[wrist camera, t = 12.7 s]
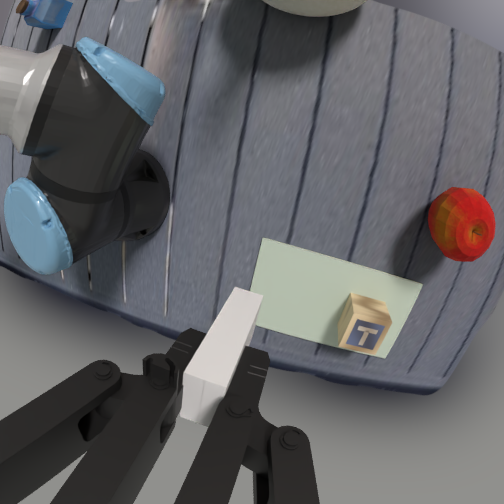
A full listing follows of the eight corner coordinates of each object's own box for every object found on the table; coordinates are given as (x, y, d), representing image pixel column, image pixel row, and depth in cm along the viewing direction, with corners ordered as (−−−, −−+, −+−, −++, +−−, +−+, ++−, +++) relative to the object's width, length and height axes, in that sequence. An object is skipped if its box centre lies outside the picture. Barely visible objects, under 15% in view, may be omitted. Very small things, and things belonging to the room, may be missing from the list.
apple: (430, 170, 35) (468, 181, 24) (475, 196, 34) (519, 215, 23) (407, 229, 39) (435, 259, 28) (453, 251, 38) (488, 284, 27)
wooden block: (375, 355, 39) (370, 332, 45) (392, 322, 37) (385, 302, 43) (338, 346, 40) (337, 324, 46) (354, 312, 38) (350, 292, 43)
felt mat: (243, 319, 50) (242, 321, 49) (263, 237, 44) (262, 238, 44) (384, 357, 46) (385, 358, 46) (422, 283, 41) (422, 284, 40)
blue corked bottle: (57, 5, 35) (19, -5, 24) (72, 3, 35) (34, -10, 24) (47, 29, 38) (8, 21, 27) (62, 27, 37) (21, 18, 26)
